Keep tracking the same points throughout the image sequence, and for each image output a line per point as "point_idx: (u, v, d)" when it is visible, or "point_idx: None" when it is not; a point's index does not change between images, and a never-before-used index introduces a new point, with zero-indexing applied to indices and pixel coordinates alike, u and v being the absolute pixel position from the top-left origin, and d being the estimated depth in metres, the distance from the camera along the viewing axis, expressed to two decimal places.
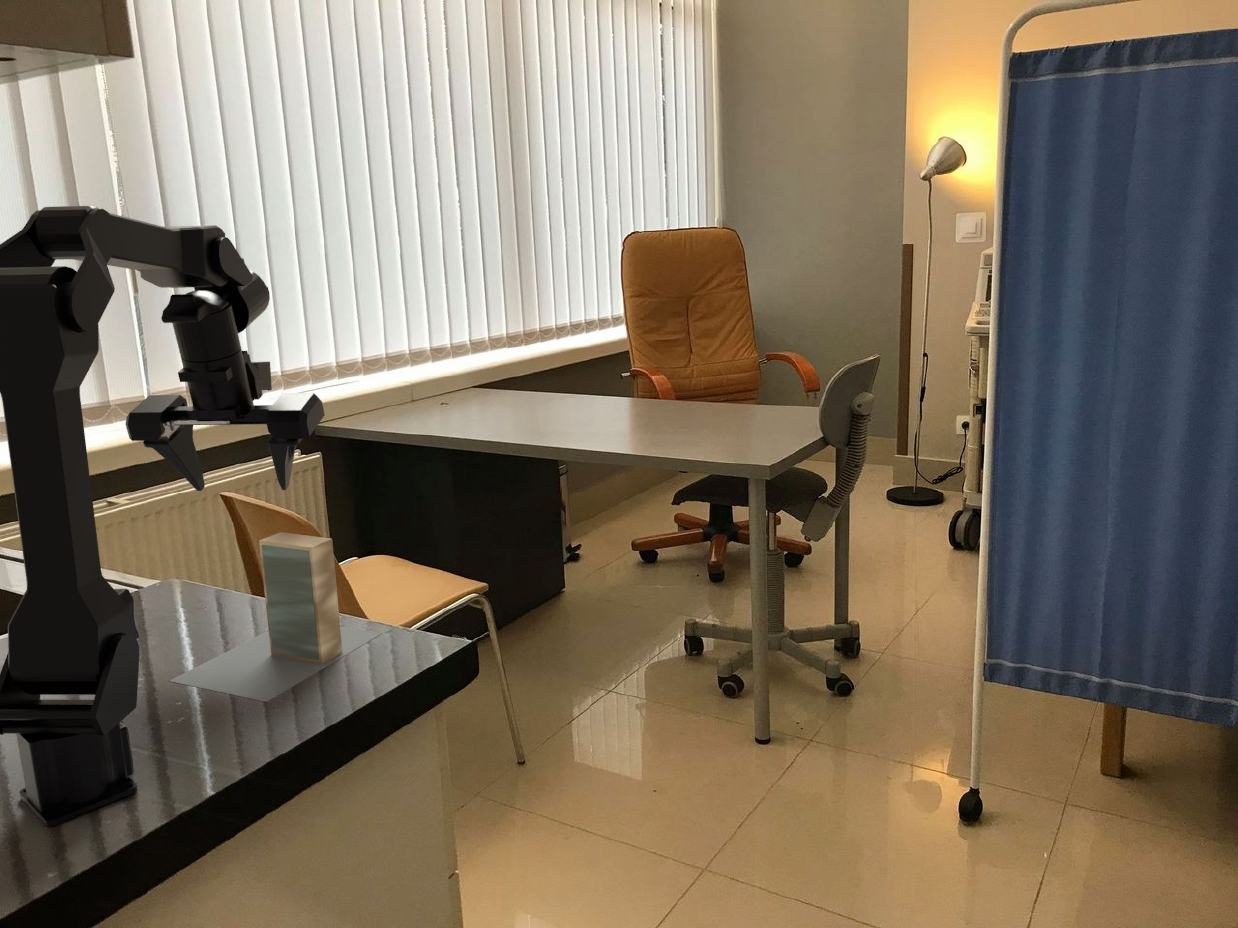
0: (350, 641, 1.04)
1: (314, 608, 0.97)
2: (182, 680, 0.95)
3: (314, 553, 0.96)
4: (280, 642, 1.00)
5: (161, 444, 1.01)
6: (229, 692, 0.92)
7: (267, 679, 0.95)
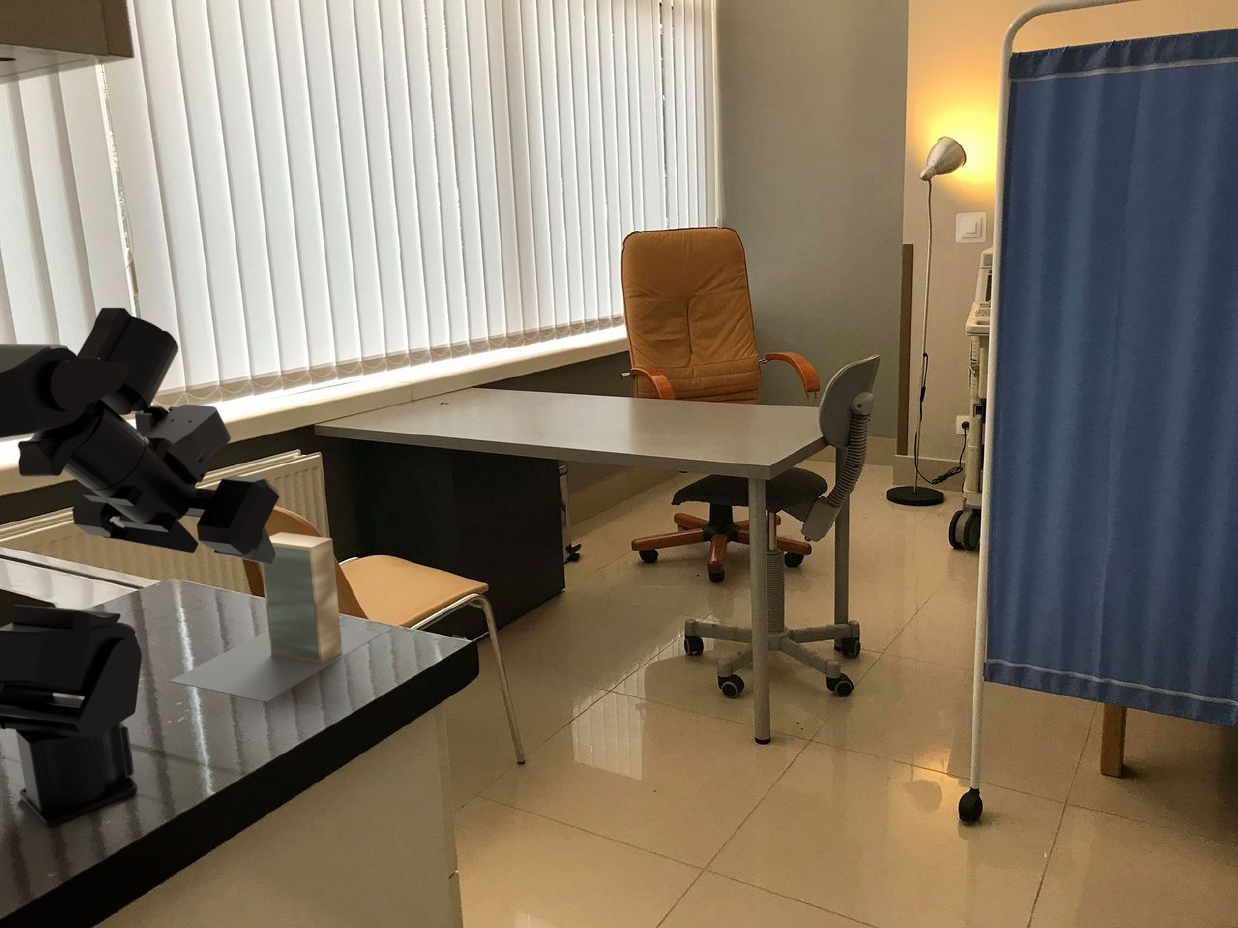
0: (350, 641, 1.04)
1: (314, 608, 0.97)
2: (182, 680, 0.95)
3: (314, 553, 0.96)
4: (280, 642, 1.00)
5: (117, 539, 0.86)
6: (229, 692, 0.92)
7: (267, 679, 0.95)
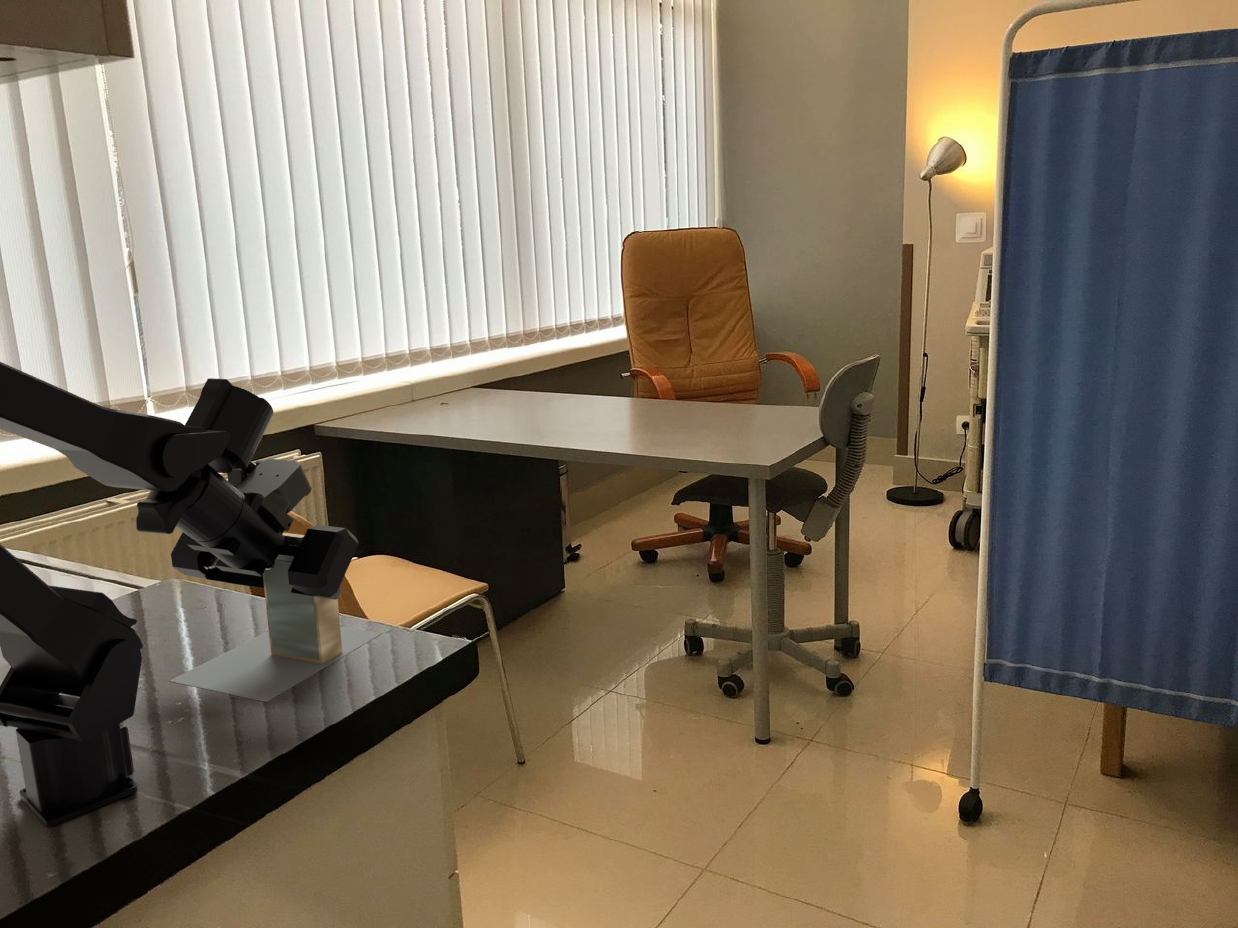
0: (350, 641, 1.04)
1: (314, 608, 0.97)
2: (182, 680, 0.95)
3: None
4: (280, 642, 1.00)
5: (219, 581, 0.96)
6: (229, 692, 0.92)
7: (267, 679, 0.95)
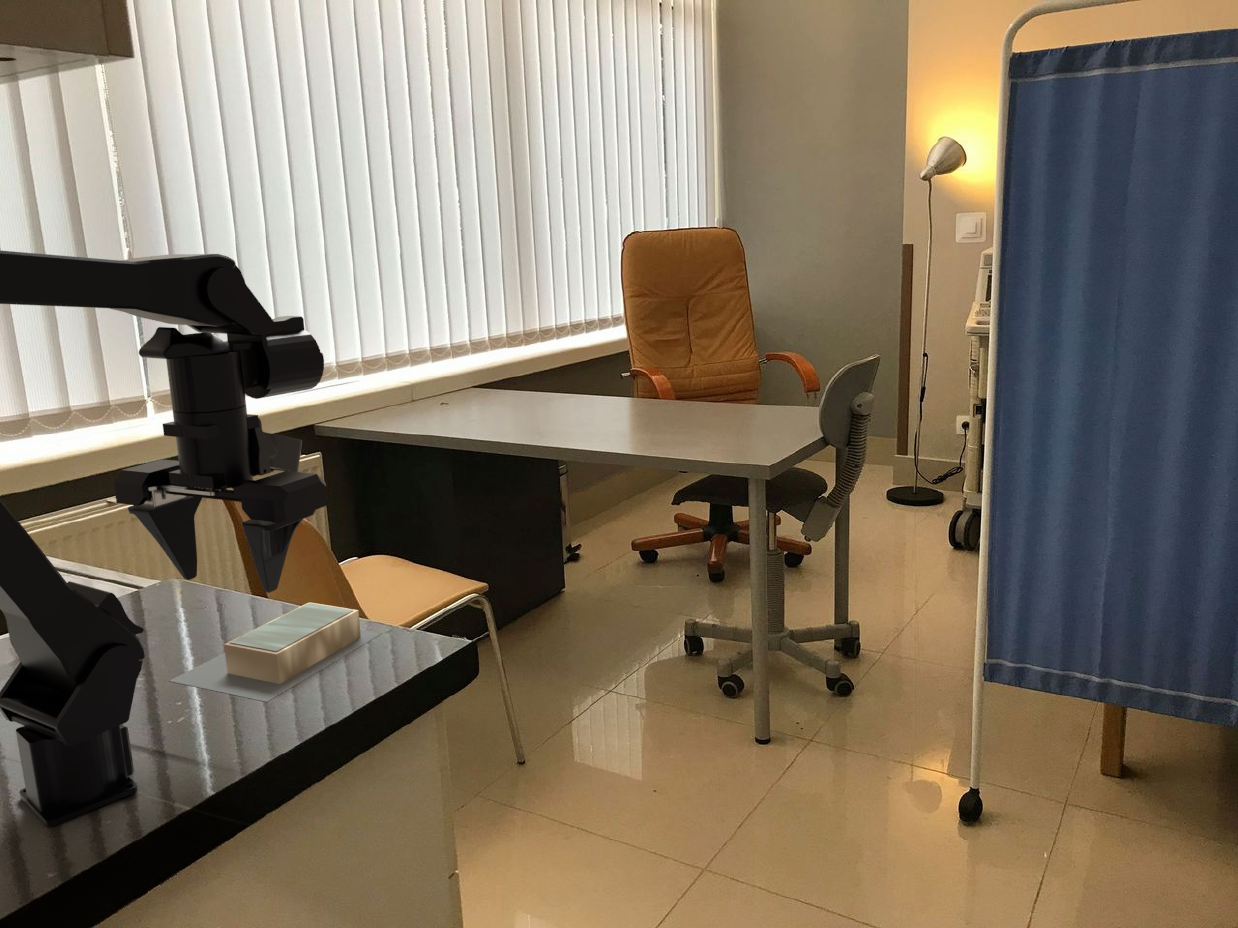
0: None
1: (315, 631, 0.99)
2: (182, 680, 0.95)
3: (354, 614, 1.03)
4: (246, 640, 0.97)
5: (142, 511, 0.85)
6: (229, 692, 0.92)
7: None
